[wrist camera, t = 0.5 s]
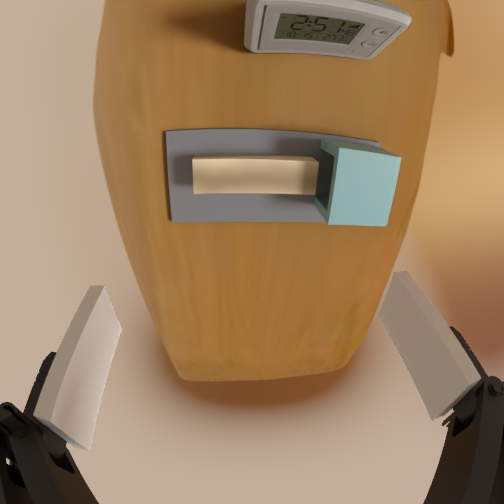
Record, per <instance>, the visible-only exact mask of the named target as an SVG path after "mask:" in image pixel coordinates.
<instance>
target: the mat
mask: <svg viewBox="0 0 504 504" xmlns="http://www.w3.org/2000/svg"><path fill="white" fill-rule="evenodd" d="M321 139H328V140H336V141H344V142H351V143H358V144H364V145H370V146H376V147H379V148H380V143H379V142H375V141H370V140H364V139H358V138H351V137H344V136H337V135H329V134H320V133H311V132H300V131H287V130H269V129H190V130H173V131H166V147H167V166H168V181H169V194H170V206H171V216H172V223H183V222H326V221H325V220H324V218H323V217H322V215H321V214H320V213H319V211H318V210H317V209H316V207H315V206H314V197H315V196H327V197H329V195H330V188H331V181H332V174H333V166H334V159H335V157H334V156H333V155H331V154H329V153H328V152H326V151H324V150H323V149H321V148H320V146H321ZM195 154H276V155H295V156H309V157H313V158H314V159H315V160H317V161H318V162H319V167H318V176H317V184H316V192H315V195H305V194H270V193H207V194H194V190H193V164H192V159H193V158H194V156H195Z"/></svg>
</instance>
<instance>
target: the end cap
mask: <svg viewBox="0 0 504 504" xmlns="http://www.w3.org/2000/svg"><path fill="white" fill-rule="evenodd" d="M320 148H321V149H323V150H324V151H326V152H328V153H329V154H331V155H333V156H334V157H335V159H334V166H333V174H332V181H331V188H330V195H329V197H327V196H315V197H314V206H315V207H316V209H317V210H318V211H319V213H320V214H321V215H322V217H323V218H324V220H325V221H326V222H327V224H328V225H365V226H386V225H387V221H388V217H389V213H390V209H391V205H392V201H393V197H394V192H395V188H396V183H397V178H398V173H399V168H400V162H401V157H399V156H397V155H395V154H393V153H390V152H388V151H386V150H383V149H381V148H379V147H376V146H370V145H364V144H358V143H351V142H344V141H336V140H328V139H321V146H320Z"/></svg>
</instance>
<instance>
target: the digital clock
mask: <svg viewBox="0 0 504 504" xmlns="http://www.w3.org/2000/svg"><path fill="white" fill-rule="evenodd" d="M410 22H411V17H410V15H409V14H408V13H407V12H406V11H404V10H403V9H401V8H399V7H397V6H394V5H391V4H388V3H385V2H382V1H378V0H246V13H245V29H244V46H245V48H247V49H248V50H250V51H252V52H255V53H307V54H321V55H331V56H340V57H348V58H355V59H362V60H370V59H372V58H373V57H375V56H376V55H377V54H378V53H379V52H380V51H381V50H382V49H384V48H385V47H386V46H387V45H388V44H389V43H390V42H391V41H393V40H394V39H395V38H396V37H397V36H398V35H400V34H401V33H402V32H403V31H404V30H405V29H406V28H407V27H408V25H409V24H410Z"/></svg>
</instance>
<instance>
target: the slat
mask: <svg viewBox="0 0 504 504" xmlns="http://www.w3.org/2000/svg"><path fill="white" fill-rule="evenodd" d="M192 164H193V190H194V194H207V193H270V194H305V195H315V192H316V184H317V176H318V167H319V162H318V161H317V160H315V159H314V158H313V157H309V156H295V155H276V154H195V156H194V158H193V159H192Z"/></svg>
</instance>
